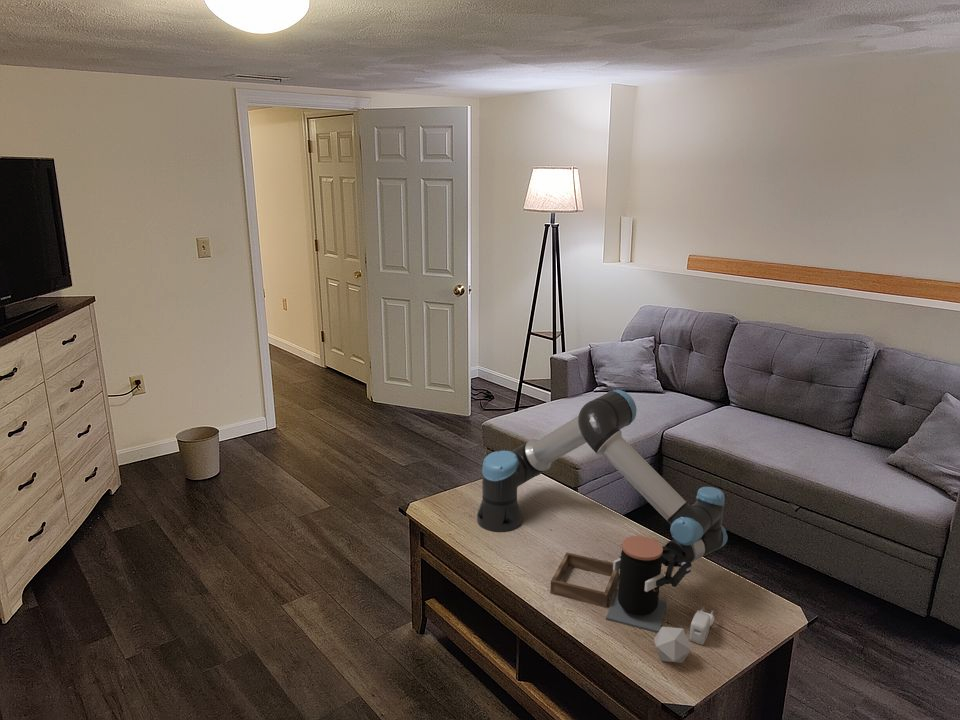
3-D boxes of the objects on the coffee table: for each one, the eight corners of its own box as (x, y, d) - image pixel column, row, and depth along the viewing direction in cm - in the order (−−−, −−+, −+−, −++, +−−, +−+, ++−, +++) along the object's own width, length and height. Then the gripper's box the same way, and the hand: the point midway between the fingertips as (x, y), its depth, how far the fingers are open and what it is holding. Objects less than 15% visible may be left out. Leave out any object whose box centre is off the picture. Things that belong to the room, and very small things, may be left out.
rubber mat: (616, 590, 194) (617, 588, 193) (667, 602, 188) (667, 600, 188) (605, 619, 181) (605, 617, 181) (659, 633, 176) (659, 631, 176)
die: (678, 678, 162) (701, 645, 162) (647, 655, 163) (670, 622, 163) (673, 665, 170) (695, 634, 170) (644, 644, 171) (665, 612, 171)
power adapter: (697, 617, 182) (699, 598, 181) (716, 623, 180) (718, 604, 178) (686, 640, 173) (688, 621, 172) (705, 647, 171) (707, 628, 169)
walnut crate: (566, 563, 206) (566, 552, 205) (618, 576, 200) (619, 564, 199) (550, 593, 192) (550, 581, 191) (606, 607, 186) (607, 595, 185)
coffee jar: (658, 619, 178) (664, 559, 173) (617, 614, 180) (621, 554, 175) (656, 595, 188) (662, 537, 183) (617, 590, 190) (621, 533, 185)
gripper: (717, 581, 183) (662, 611, 171) (651, 543, 201) (597, 567, 189) (720, 557, 181) (665, 585, 169) (653, 520, 199) (599, 543, 187)
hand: (629, 576), depth 179 cm, fingers closed on coffee jar, 10 cm apart
